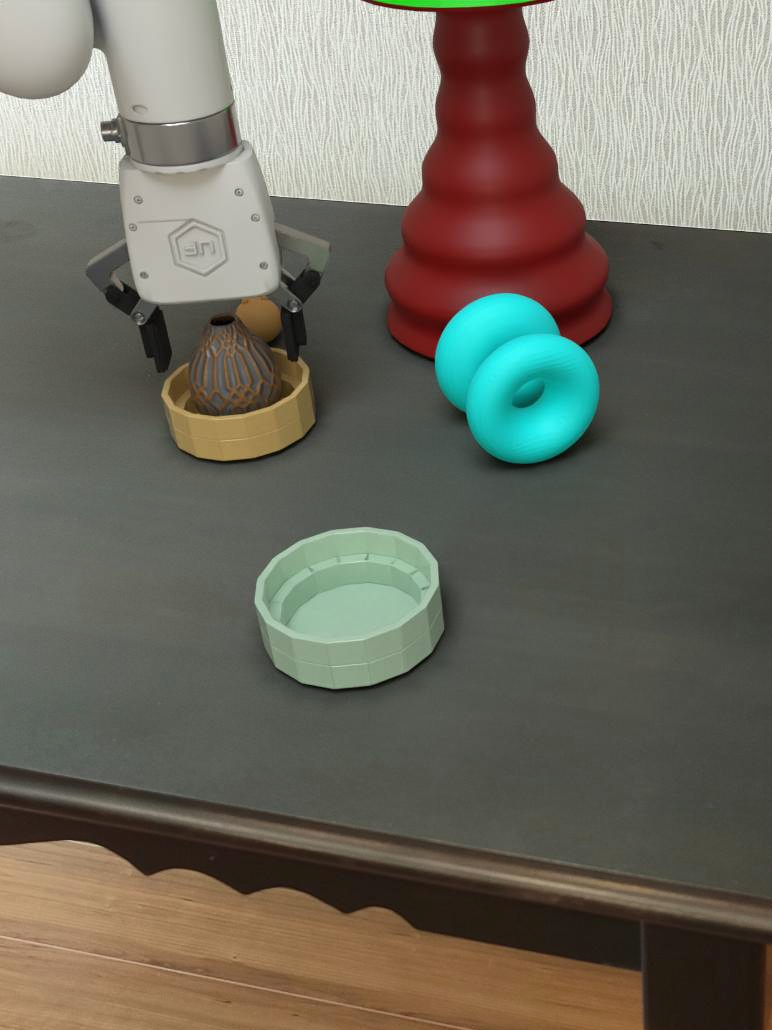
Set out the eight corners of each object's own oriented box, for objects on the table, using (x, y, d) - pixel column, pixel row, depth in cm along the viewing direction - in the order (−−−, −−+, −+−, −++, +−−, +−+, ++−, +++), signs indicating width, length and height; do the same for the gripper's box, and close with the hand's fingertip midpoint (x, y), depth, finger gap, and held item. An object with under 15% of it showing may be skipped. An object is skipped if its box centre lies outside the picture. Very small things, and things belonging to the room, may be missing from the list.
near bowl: (259, 702, 75) (247, 650, 73) (272, 585, 84) (262, 536, 81) (448, 683, 76) (441, 631, 73) (441, 569, 84) (435, 519, 82)
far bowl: (164, 471, 95) (152, 425, 93) (183, 396, 104) (172, 352, 102) (313, 457, 96) (305, 411, 93) (319, 384, 105) (311, 340, 102)
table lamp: (615, 367, 105) (609, -286, 78) (374, 374, 106) (285, -270, 79) (609, 264, 121) (602, -309, 94) (400, 270, 121) (333, -296, 94)
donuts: (479, 485, 92) (469, 362, 86) (436, 419, 99) (423, 302, 93) (606, 452, 95) (605, 331, 89) (555, 390, 102) (550, 274, 96)
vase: (240, 455, 96) (217, 350, 91) (180, 428, 99) (155, 326, 94) (307, 414, 100) (289, 312, 95) (247, 390, 104) (226, 290, 98)
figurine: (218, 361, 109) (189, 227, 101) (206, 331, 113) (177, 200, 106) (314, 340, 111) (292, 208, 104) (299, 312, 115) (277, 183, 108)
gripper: (40, 162, 83) (104, 393, 93) (309, 142, 84) (344, 373, 94) (63, 124, 89) (121, 345, 99) (314, 105, 90) (346, 326, 100)
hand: (230, 358), depth 96 cm, fingers open, 9 cm apart
